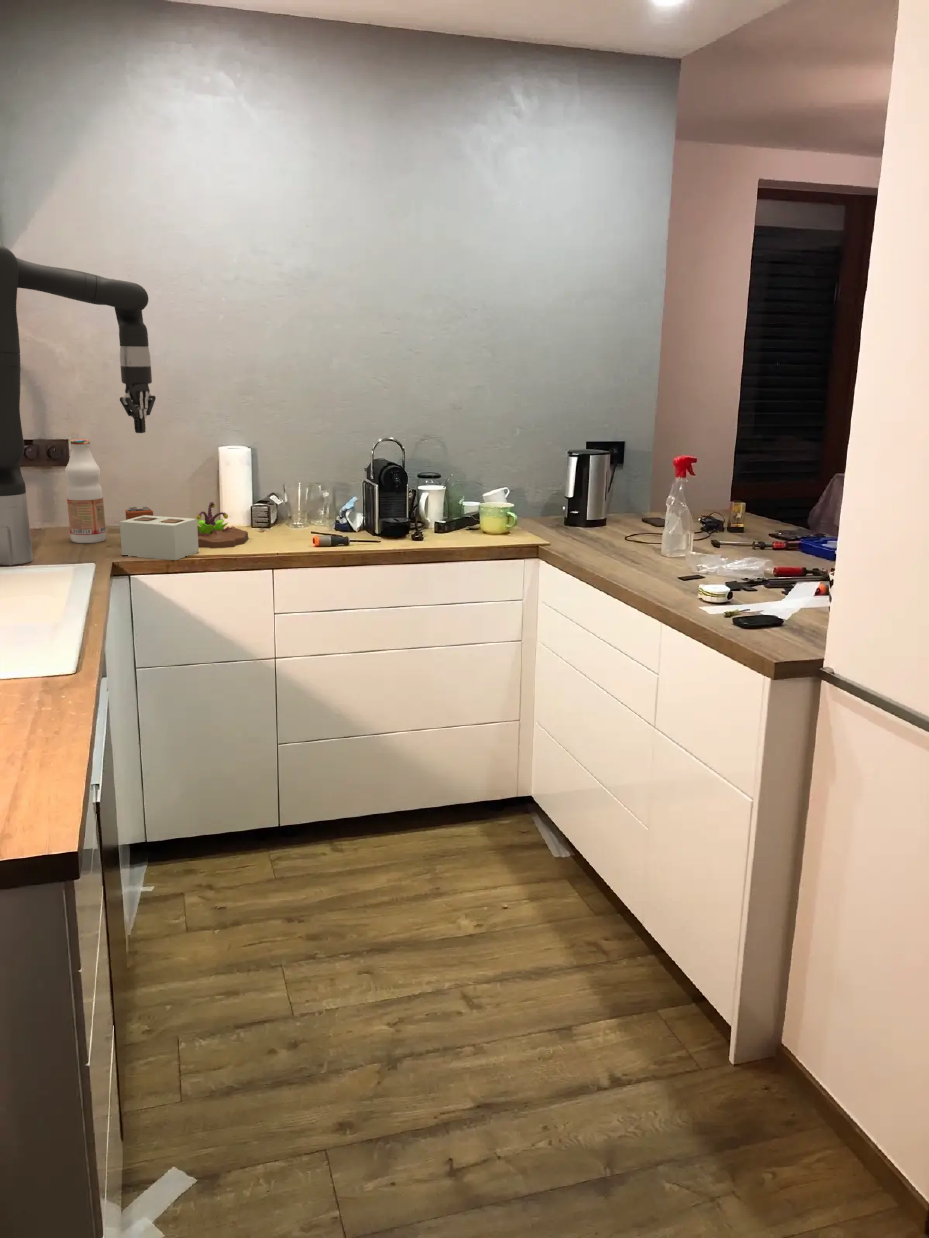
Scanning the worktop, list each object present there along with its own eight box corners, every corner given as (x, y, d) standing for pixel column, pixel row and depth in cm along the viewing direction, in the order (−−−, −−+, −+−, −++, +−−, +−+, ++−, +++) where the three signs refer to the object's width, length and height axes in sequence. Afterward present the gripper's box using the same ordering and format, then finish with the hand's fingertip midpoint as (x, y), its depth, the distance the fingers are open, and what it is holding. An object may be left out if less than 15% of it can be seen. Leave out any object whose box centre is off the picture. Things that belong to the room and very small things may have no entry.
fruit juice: (77, 545, 272) (68, 442, 264) (66, 539, 279) (56, 439, 271) (111, 541, 277) (103, 440, 270) (99, 536, 284) (91, 437, 277)
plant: (257, 537, 288) (256, 499, 285) (234, 550, 269) (232, 509, 266) (191, 534, 291) (189, 496, 288) (164, 547, 272) (161, 507, 269)
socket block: (175, 560, 254) (173, 525, 252) (122, 555, 259) (119, 521, 256) (198, 552, 265) (196, 518, 262) (146, 548, 269) (144, 515, 267)
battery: (127, 542, 277) (124, 506, 274) (152, 540, 280) (149, 505, 277) (130, 544, 273) (127, 508, 271) (155, 542, 276) (153, 507, 274)
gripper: (132, 365, 248) (138, 435, 253) (162, 364, 261) (167, 431, 265) (107, 365, 250) (112, 434, 255) (138, 364, 263) (142, 430, 267)
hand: (140, 432), depth 260 cm, fingers closed
